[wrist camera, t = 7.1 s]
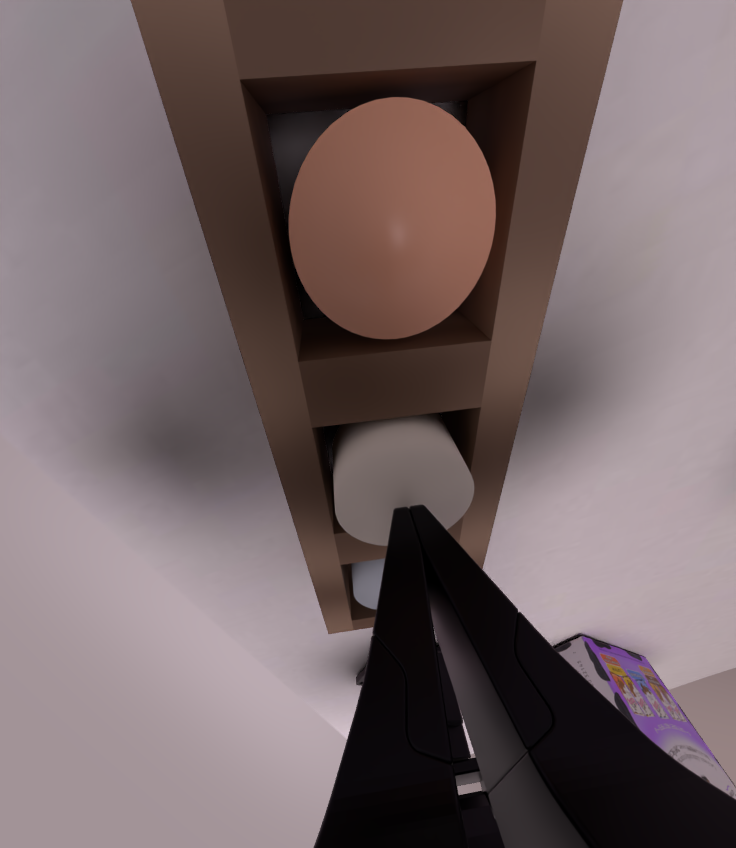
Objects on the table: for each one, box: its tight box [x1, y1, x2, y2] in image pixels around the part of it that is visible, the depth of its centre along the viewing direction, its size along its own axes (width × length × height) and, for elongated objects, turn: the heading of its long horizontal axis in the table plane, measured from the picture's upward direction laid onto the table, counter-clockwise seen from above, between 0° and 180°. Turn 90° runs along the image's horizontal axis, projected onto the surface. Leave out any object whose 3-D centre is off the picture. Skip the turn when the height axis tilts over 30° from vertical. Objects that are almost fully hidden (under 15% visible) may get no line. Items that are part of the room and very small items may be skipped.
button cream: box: [332, 413, 474, 546], centre depth 10 cm, size 4×4×2 cm
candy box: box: [554, 636, 736, 799], centre depth 25 cm, size 14×6×16 cm, turn 51°
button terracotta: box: [289, 97, 496, 339], centre depth 7 cm, size 4×4×2 cm
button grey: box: [351, 559, 385, 609], centre depth 15 cm, size 4×4×2 cm
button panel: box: [131, 0, 623, 634], centre depth 11 cm, size 20×7×3 cm, turn 4°
